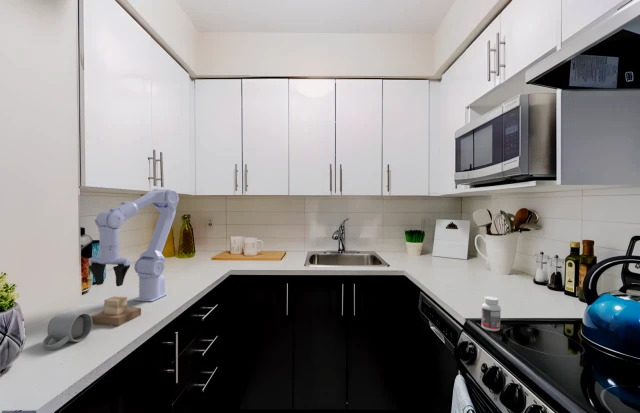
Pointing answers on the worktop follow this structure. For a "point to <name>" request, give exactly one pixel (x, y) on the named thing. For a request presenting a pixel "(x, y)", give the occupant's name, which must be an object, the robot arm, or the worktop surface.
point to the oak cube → (115, 305)
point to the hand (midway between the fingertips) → (109, 285)
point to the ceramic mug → (68, 329)
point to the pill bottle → (491, 314)
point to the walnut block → (116, 317)
